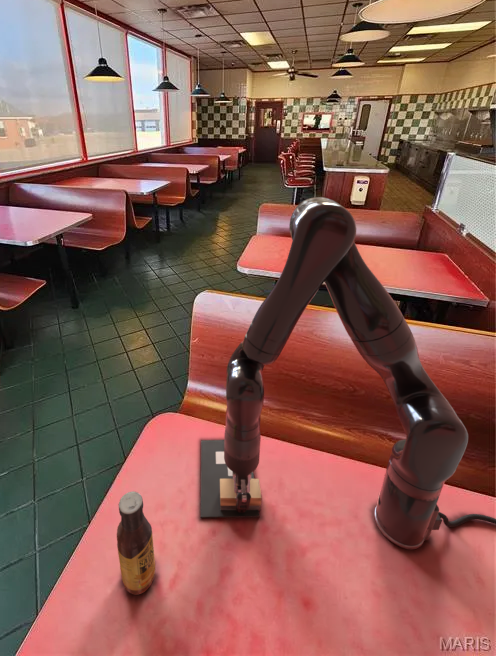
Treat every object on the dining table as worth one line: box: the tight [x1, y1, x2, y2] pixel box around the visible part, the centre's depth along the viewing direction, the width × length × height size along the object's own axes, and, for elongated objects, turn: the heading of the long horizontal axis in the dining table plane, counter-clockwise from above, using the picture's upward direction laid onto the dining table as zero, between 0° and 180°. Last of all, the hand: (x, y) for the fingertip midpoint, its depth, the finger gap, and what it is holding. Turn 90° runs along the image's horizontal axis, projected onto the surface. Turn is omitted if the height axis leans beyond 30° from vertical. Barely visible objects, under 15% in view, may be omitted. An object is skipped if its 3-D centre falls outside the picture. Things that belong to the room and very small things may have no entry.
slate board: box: [200, 439, 261, 519], centre depth 81 cm, size 13×20×1 cm, turn 1°
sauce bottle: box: [116, 490, 156, 596], centre depth 59 cm, size 6×6×20 cm
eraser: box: [220, 478, 262, 511], centre depth 75 cm, size 9×4×4 cm, turn 90°
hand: (240, 498), depth 75 cm, fingers closed on eraser, 4 cm apart
